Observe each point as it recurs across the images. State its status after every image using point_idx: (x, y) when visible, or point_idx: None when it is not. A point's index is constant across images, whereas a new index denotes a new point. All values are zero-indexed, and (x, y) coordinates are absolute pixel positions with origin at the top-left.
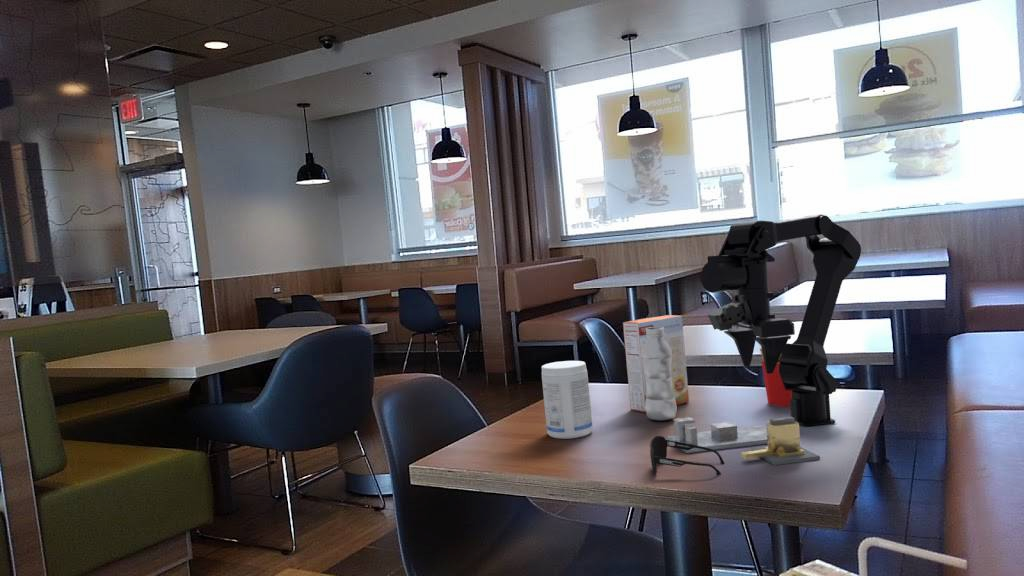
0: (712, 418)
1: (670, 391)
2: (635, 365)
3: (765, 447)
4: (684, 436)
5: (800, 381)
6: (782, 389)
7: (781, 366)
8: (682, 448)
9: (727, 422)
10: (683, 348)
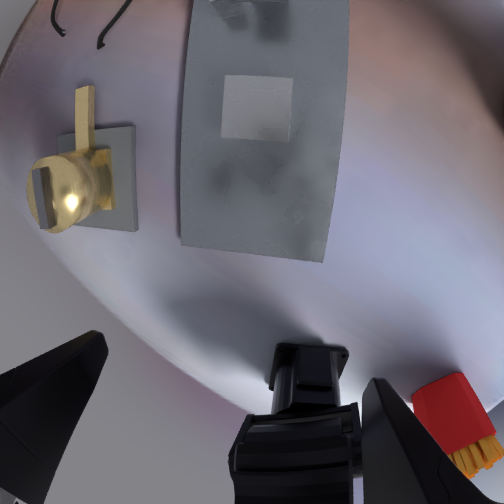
0: (476, 224)
1: None
2: None
3: (105, 150)
4: None
5: (270, 428)
6: (438, 408)
7: (337, 455)
8: None
9: (280, 134)
10: None
